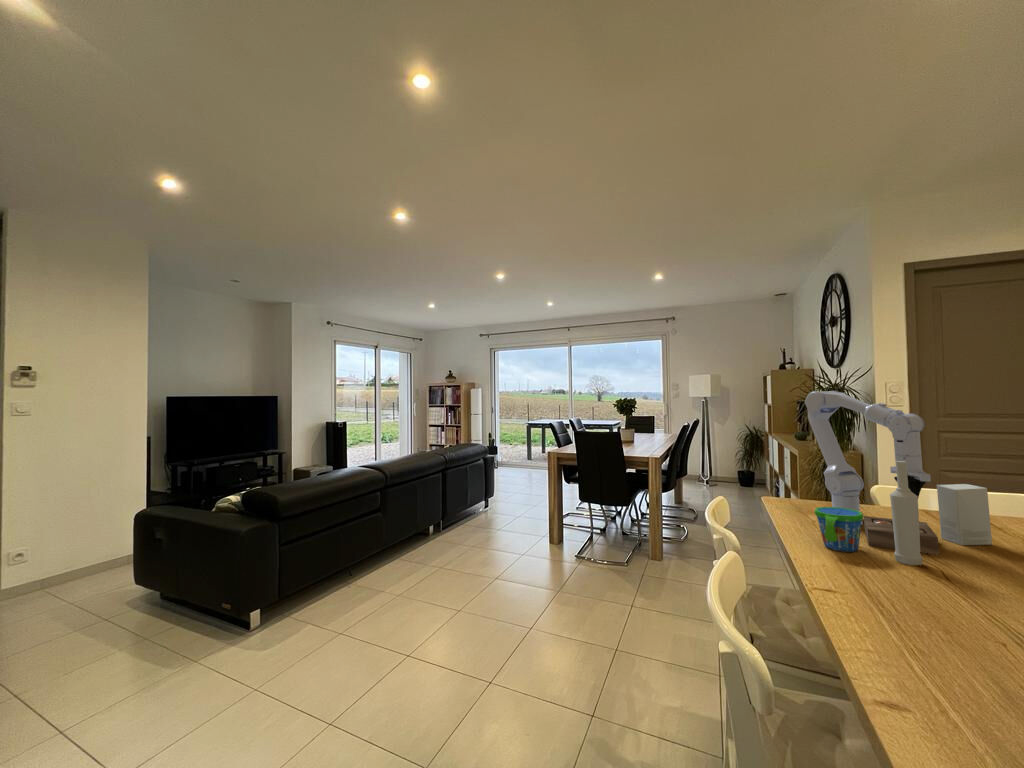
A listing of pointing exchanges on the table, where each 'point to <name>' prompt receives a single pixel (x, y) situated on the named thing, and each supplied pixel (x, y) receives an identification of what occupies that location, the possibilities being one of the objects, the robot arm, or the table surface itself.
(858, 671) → the table surface
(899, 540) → the bottle
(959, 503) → the skincare box
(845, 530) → the snack cup
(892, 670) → the table surface
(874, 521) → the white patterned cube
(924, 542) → the walnut block
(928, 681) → the table surface
